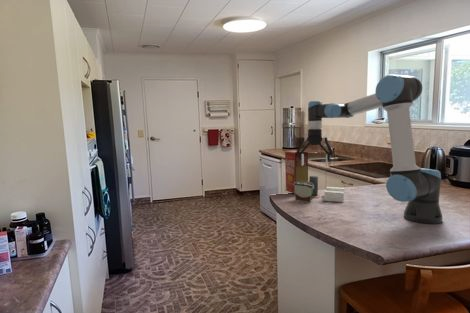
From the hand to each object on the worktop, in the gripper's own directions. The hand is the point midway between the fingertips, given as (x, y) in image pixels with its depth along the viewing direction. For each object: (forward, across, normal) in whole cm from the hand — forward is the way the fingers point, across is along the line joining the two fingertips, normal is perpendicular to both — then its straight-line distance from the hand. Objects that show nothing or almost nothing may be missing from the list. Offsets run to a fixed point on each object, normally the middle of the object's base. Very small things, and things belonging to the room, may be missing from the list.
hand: (314, 165), depth 184 cm
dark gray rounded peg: (+17, +1, 0) cm, 18 cm away
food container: (+18, +4, +9) cm, 21 cm away
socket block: (+18, -11, 0) cm, 22 cm away
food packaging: (+18, +12, -8) cm, 23 cm away
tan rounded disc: (+18, +1, 0) cm, 18 cm away
